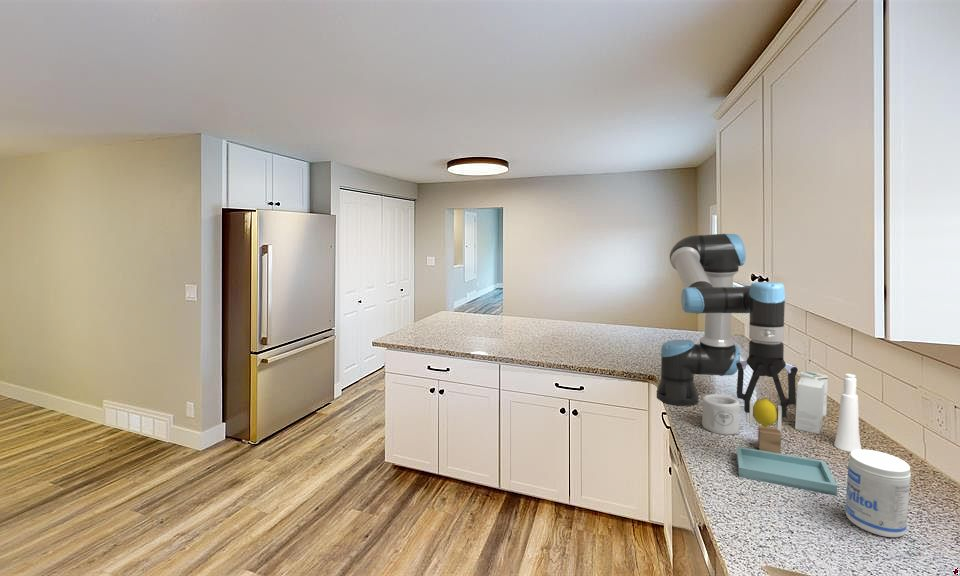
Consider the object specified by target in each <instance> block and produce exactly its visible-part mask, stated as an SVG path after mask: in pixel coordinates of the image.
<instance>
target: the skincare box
mask: <svg viewBox="0 0 960 576" xmlns="http://www.w3.org/2000/svg"><path fill="white" fill-rule="evenodd" d="M824 382H825V381H823V380H817V379H810V378H804V377H801V378H800V377H799V381H797V384H796V385H797V386H796V404H795V405H796V406H795V422H794V424H795V425H794V429H795V430H798V431H803V432H808V433H812V434H816V435H820V433H821V430H822V428H823V420H824V416H823V401H824Z"/></svg>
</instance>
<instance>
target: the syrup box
mask: <svg viewBox="0 0 960 576" xmlns="http://www.w3.org/2000/svg"><path fill="white" fill-rule="evenodd" d="M801 377H804V378H810V379H817V380H823V381H825V382H824V401H823V417H826V416H827V406H828V405H827V404H828V403H827V402H828V384H829V383H828V382H829V381H828V379H829V376H828V375H825V374H822V373H818V372H815V371H802V372H799V379H800V378H801Z"/></svg>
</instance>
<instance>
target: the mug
mask: <svg viewBox="0 0 960 576" xmlns="http://www.w3.org/2000/svg"><path fill="white" fill-rule="evenodd" d="M701 401H702V402H701V404H702V405H701V406H702V415H701V417H702V418H701V420H702V421H701V426H702V427H703V428H704V429H705V430H706V431H709V432H711V433H714V434H719V435H724V436H725V435H726V436H728V435H729V436H730V435H734V434H738V433H739V432H740V425H741V426H742V425H743V426H744V425H749V413H745V417H746V418H745V421H744V422H743V421H742V422H741V421H740V407H742V408H744V403H743V404H742V403H740V401H739V400H738V399H737V398H735V397H733V396H730V395H727V394H726V395H725V394H720V393H718V394H717V393H714V394H713V393H712V394H706V395H703V396H702V400H701Z"/></svg>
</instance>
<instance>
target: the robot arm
mask: <svg viewBox="0 0 960 576" xmlns="http://www.w3.org/2000/svg"><path fill="white" fill-rule="evenodd" d="M745 248H746V247H745V244H744V241H743V239H742V238H741V236H740V235H739V234H736V233H717V234H716V233H715V234H714V233H713V234H701V235H699V234H694V235H690V236H689V235H688V236H686V237H684V238H682V239H680V240H679V241H678V242H676V243H675V244H674V246H673V247H672V248H671V250H670V253H669V262H670V264H671V266H672V268H673V269H674V270H675V271H677V273H678V276H679V279H680V281H681V283H682V286H683V289H682V290H681V295H680V296H681V297H680V298H681V299H680V300H681V301H680V302H681V308H682V311H683V312H685V313H688V314H689V313H690V314H691V313H692V314H696V315H697V314H698V315H699V314H704V335H703V336H702V337H701V338H699V343H697V344H696V343H695V342H694V341H693V340H691V339H673V340H668V341H666V342H663V344H662V345H661V347H660V348H661V351H660V357H661V361H660V362H661V363H660V364H661V365H660V367H661V369H660V376H661V377H660V381H659V383H658V387H657V390H656V399H657V400H659V401H660V402H662V403H666V404H668V405H674V406H681V405H682V406H683V407H684V406H685V405H686V406H687V405H688V406H694V405H696V404H698V403H699V399H700V398H699V393H698V390H697V388H696V385H695V382H694V381H695V379H694V375H699V376H701V375H703V376H720V377H724V376H733V375H735V374H736V373H737V379H736V397H737V398H738V399H740V400H743V405H744V407H743V408H744V409H743V411H744V412H745V414H746V413H749V423H748V425H749V427H753V426H754V417H753V406H754V400H753V399H752V397H753V393H754V391H755V388H756V386H757V383H758V380H759V379H760V377H770V378H772V379H773V383H774V386H775V389H776V392H777V396H778V398H779V402H776V408H777V413H778V417H777V420H776V428H777V429H778V430H779V431H782V418H785V419H786V418H787V415H788V414H787V413H788V411H787V410H788V406H789V405H793V406H795V405H796V399H797V388H796V375H797V373H798V372H799V371H798V370H799V369H798V368H797V366H796V365H795V364H788V363H786V362H785V360H784V352H785V351H784V348H785V346H784V343H783V341H784V339H785V338H784V337H785V336H784V335H785V334H784V333H785V329H784V328H785V310H786V309H785V307H786V305H785V304H786V303H785V302H786V298H787V297H786V293H785V292H786V291H785V289H786V288H785V285H784V284H783V283H781V282H773V281H759V282H752V283H751V284H750V285H744V286H736V287H735V286H733V285H734V276H735V275H737V273H738V272H739V268H740V267H742V266H744V265H745V263H746V260H747V259H746V249H745ZM732 314H749V323H748V325H749V327H748V328H749V329H748V330H749V331H748V333H749V335H748V338H749V339H750V340H749V342H748V344H749V345H748V357H747V358H746V360H741V355H740V354H741V351H740V348H739V347H738V345H736V343H735V341H734V340H733V339H732V337H731V334H732V333H731V330H732V328H731V327H732ZM747 366H748V367H750V369H751V370H752V374H751V377H750V380H749V382H748V384H747V385H748V386H747V388H746V391H745V393H744V391H743V389H744V378H745V377H744V374H745V372H744V370H746V369H747ZM784 369H785V371H786V373H787V384H788V385H787V389H788V392H787V393H788V398H787V397H786V396H785V393H784V389H783V387H782V384H781V380H780V378H779V374H780V372H781V371H782V370H784ZM688 406H687V407H688Z"/></svg>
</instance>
